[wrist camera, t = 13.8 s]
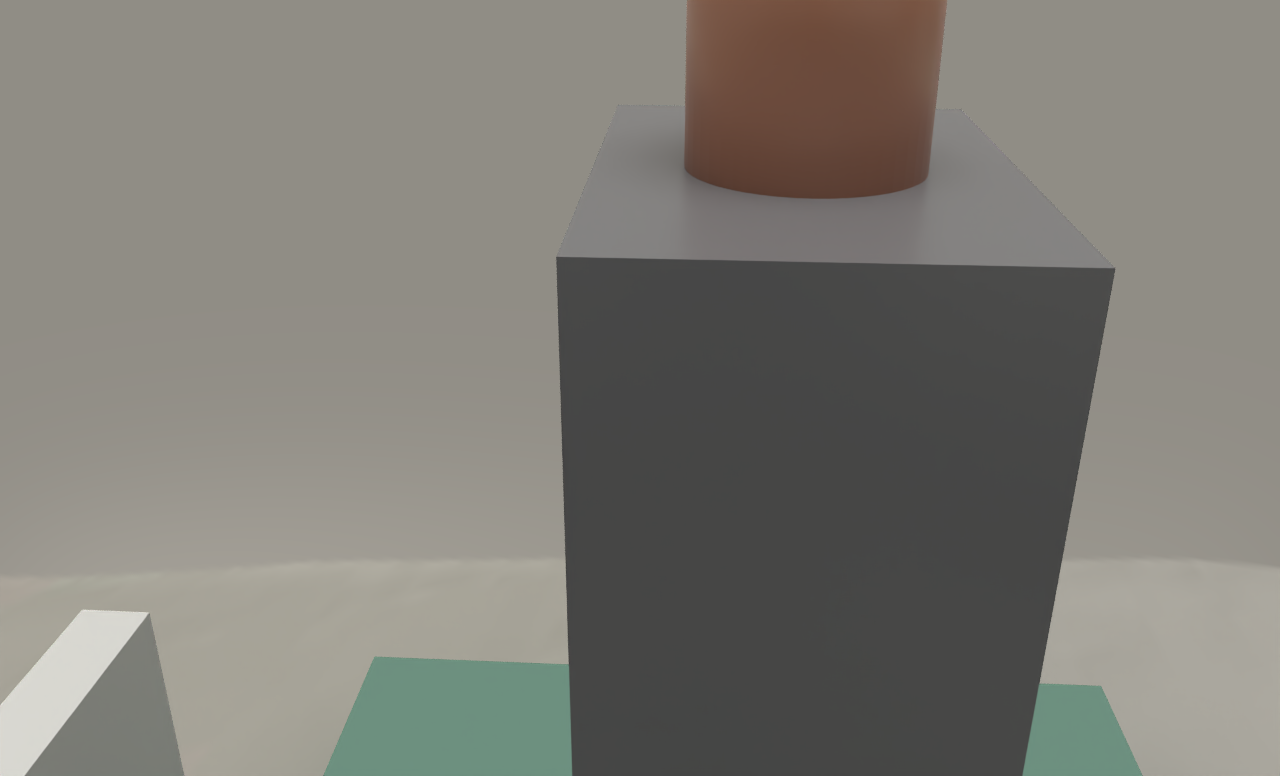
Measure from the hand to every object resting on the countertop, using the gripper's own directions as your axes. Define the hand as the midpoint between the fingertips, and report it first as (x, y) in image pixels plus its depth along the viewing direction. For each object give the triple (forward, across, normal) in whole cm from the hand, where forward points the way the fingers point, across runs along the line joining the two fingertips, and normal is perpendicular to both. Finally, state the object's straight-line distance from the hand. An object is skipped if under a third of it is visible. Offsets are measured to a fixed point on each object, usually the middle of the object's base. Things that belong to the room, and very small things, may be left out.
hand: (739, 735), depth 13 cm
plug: (0, 0, -10) cm, 10 cm away
